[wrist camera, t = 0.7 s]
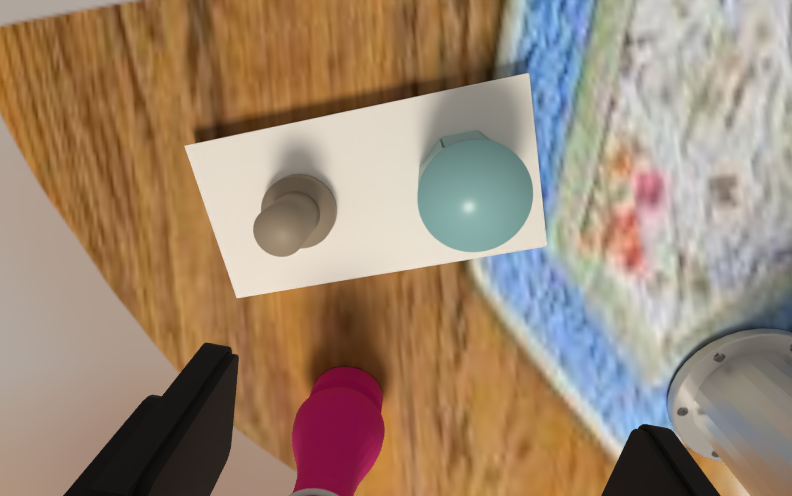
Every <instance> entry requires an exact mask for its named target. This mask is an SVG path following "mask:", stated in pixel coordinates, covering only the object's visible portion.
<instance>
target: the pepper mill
mask: <svg viewBox="0 0 792 496" xmlns="http://www.w3.org/2000/svg"><path fill="white" fill-rule="evenodd" d="M382 401H383V396H382V391H381V389H380V387H379V385H378V383H377V382H376V381H375V379H374V378H372V377H371V376H370V375H369V374H368V373H366V372H364V371H362V370H360V369H357V368H352V367H337V368H333V369H330V370H328V371H326V372H325V373H323V374H322V375H321V376H320V377H319V378H318V379H317V380H316V382H315V384H314V386H313V389H312V392H311V394H310V397H309V398H308V399H307V400H306V401H305V402H304V403H303V404H302V405H301V407H300V408H299V410H298V412H297V414H296V418H295V422H294V425H293V432H292V447H293V452H294V457H295V461H296V465H297V472H298V473H297V480H296V484H295V488H294V491H293V493H292V494H291V495H289V496H353V495H354V493H355V490H356V488H357V486H358V485H359V483H360V482H361V481H362V479H363V478H364V477H365V476H366V474H367V473H368V472H369V471H370V469H371V468H372V466H373V465H374V463H375V461H376V459H377V458H378V456H379V453H380V451H381V447H382V443H383V439H384V431H385V427H384V421H383V418H382V415H381V410H382Z"/></svg>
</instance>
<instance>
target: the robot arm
mask: <svg viewBox="0 0 792 496" xmlns="http://www.w3.org/2000/svg"><path fill="white" fill-rule="evenodd" d="M238 362H239V357H238V355H235V354H232V350H231V347H228V346H223V345H217V344H212V343H204V344H203V345H202V346H201V348H200V349H199V350H198V351H197V353H196V354H195V355H194V356H193V358H192V359H191V360H190V362H189V363H188V364H187V365H186V367H185V368H184V369H183V370H182V372H181V373H180V374H179V375H178V377H177V378H176V379H175V380H174V382H173V383H172V384H171V385H170V387H169V388H168V389H167V391H166V392H165V393H164V394H163V396H157V395H150V396H148V397H147V398H146V399H145V400H143V401H142V403H141V404H140V405H139V406H138V408H137V409H136V410H135V411H134V412H133V413H132V415H131V416H130V417H129V418H128V419H127V420H126V422H125V423H124V424H123V425H122V426H121V428H120V429H119V430H118V431H117V432H116V434H115V435H114V436H113V437H112V438H111V440H110V441H109V442H108V443H107V444H106V445H105V447H104V448H103V449H102V450H101V451H100V453H99V454H98V455H97V456H96V457H95V459H94V460H93V461H92V462H91V463H90V464H89V466H88V467H87V468H86V469H85V470H84V472H83V473H82V474H81V475H80V476H79V478H78V479H77V480H76V481H75V482H74V484H73V485H72V486H71V487H70V488H69V490H68V491H67V492H66V493H65V494H64V495H63V496H210V494H211V492H212V490H213V488H214V486H215V484H216V482H217V480H218V478H219V475H220V473H221V472H222V470H223V468H224V466H225V464H226V461H227V459H228V456H229V452H230V449H231V441H232V430H233V418H234V407H235V396H236V384H237V373H238ZM667 410H668V415H669V419H670V422H671V424H672V426H673V428H674V430H675V431H676V433H677V434H678V435H679V437H680V438H681V439H682V441H683V442H684V443H685V444H686V445H687V446H688V447H689V448H690V449H692V450H693V451H695V452H697V453H698V454H700V455H702V456H704V457H706V458H709V459H711V460H715V461H720V462H724V463H725V464H726V465H727V467H728V468H729V469H730V470H731V472H732V473H733V474H734V475H735V477H736V478H737V479H738V480H739V482H740V483H741V484H742V485H743V487H744V488H745V489H746V491H747V492H748V493H749V494H750V496H792V332H789V331H783V330H778V329H752V330H744V331H740V332H736V333H733V334H730V335H726V336H724V337H722V338H720V339H718V340H715V341H713V342H711V343H710V344H708V345H706V346H705V347H703V348H702V349H700V350H699V351H697V352H696V353H695V354H694V355H693V356H692V357H691V358H690V359H689V360H687V361H686V363H685V364H684V365H683V366H682V368H681V369H680V370H679V371H678V373H677V375H676V377H675V378H674V380H673V382H672V384H671V387H670V391H669V394H668V404H667ZM601 496H720V494H719V493H718V492H717V490H716V489H715V488H714V486H713V485H712V484H711V482H710V481H709V479H708V478H707V477H706V475H705V474H704V473H703V471H702V470H701V469H700V467H699V466H698V465H697V463H696V462H695V460H694V459H693V458H692V456H691V455H690V454H689V452H688V451H687V450H686V448H685V447H684V446H683V444H682V443H681V441H680V440H679V439H678V437H677V436H676V435H675V433H674V432H673V431H672V430H670V429H668V428H664V427H658V426H653V425H648V424H642V425H641V426H639V428H638V429H634V430H633V431H632V432H631V433H630V436H629V438H628V440H627V442H626V444H625V446H624V448H623V450H622V453H621V455H620V457H619V459H618V461H617V463H616V465H615V468H614V470H613V472H612V474H611V476H610V478H609V480H608V483H607V485H606V487H605V489H604V491H603V493H602V495H601Z"/></svg>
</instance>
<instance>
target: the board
mask: <svg viewBox="0 0 792 496" xmlns="http://www.w3.org/2000/svg"><path fill="white" fill-rule="evenodd" d="M475 130H477V131H480V132H481V133H483V134H484V135H486V136H487V137H489V138H490V139H491V140H493V141H496V142H498V143H501V144H502V145H504V146H506V147H507V148H509V149H510V150H511V151H513V152H514V153H515V154H516V155H517V156H518V157H519V158H520V159H521V160H522V161H523V163H524V164H525V166H526V168H527V170H528V172H529V174H530V177H531V180H532V185H533V203H532V207H531V211H530V213H529V216H528V218H527V220H526V222H525V224H524V225H523V226H522V228H521V229H520V230H519V232H518V233H517V234H516V235H515V236H514V237H512V238H511V239H510V240H509V241H507V242H506V243H504V244H502V245H500V246H498V247H496V248H494V249H491V250H487V251H482V252H464V251H459V250H455V249H452V248H450V247H447V246H446V245H444V244H442V243H441V242H439V241H438V240H437V239H435V238H434V237H433V236H432V235H431V234H430V232H429V231H428V230H427V228H426V227H425V225H424V223H423V221H422V219H421V217H420V213H419V209H418V202H417V194H418V177H419V168H420V166H421V165H422V163H423V162H424V160H425V159H426V157H427V156H428V155H429V153H430V152H431V150H432V149H433V147H434V146H435V144H436V143H437V141H438V140H439V139H441V140H442V138H441V137H445V136H450V135H455V134H460V133H465V132H470V131H475ZM185 149H186V152H187V155H188V158H189V161H190V163H191V166H192V169H193V172H194V175H195V178H196V181H197V184H198V187H199V190H200V192H201V195H202V198H203V201H204V204H205V207H206V210H207V213H208V216H209V219H210V222H211V224H212V227H213V230H214V233H215V236H216V239H217V242H218V245H219V248H220V251H221V254H222V256H223V259H224V262H225V265H226V268H227V271H228V274H229V277H230V280H231V283H232V285H233V288H234V291H235V294H236V297H237V298H241V297H247V296H253V295H259V294H265V293H271V292H277V291H283V290H289V289H295V288H301V287H307V286H313V285H319V284H325V283H331V282H337V281H342V280H348V279H354V278H360V277H366V276H372V275H378V274H384V273H390V272H396V271H402V270H408V269H414V268H420V267H426V266H432V265H438V264H444V263H450V262H456V261H462V260H468V259H474V258H480V257H486V256H492V255H498V254H504V253H510V252H516V251H522V250H528V249H534V248H540V247H546V246H547V241H546V231H545V222H544V212H543V202H542V193H541V183H540V173H539V164H538V154H537V144H536V135H535V125H534V115H533V106H532V96H531V86H530V77H529V73H525V74H520V75H515V76H510V77H506V78H501V79H496V80H491V81H487V82H482V83H477V84H473V85H468V86H463V87H458V88H454V89H449V90H444V91H440V92H435V93H430V94H425V95H421V96H416V97H411V98H407V99H402V100H397V101H392V102H388V103H383V104H378V105H374V106H369V107H364V108H360V109H355V110H350V111H345V112H341V113H336V114H331V115H327V116H322V117H317V118H312V119H308V120H303V121H298V122H294V123H289V124H284V125H279V126H275V127H270V128H265V129H261V130H256V131H251V132H246V133H242V134H237V135H232V136H228V137H223V138H218V139H213V140H209V141H204V142H199V143H195V144H191V145H187V146H185Z"/></svg>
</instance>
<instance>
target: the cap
mask: <svg viewBox="0 0 792 496" xmlns="http://www.w3.org/2000/svg"><path fill="white" fill-rule="evenodd" d="M441 138H442V140H441V139H439V140H438V141H437V143H436V144H435V146H434V147H433V149H432V150H431V152H430V153H429V155H428V156H427V157H426V159H425V160H424V162H423V163H422V165H421V166H420V168H419V177H418V194H417V202H418V209H419V213H420V217H421V219H422V221H423V223H424V225H425V227H426V228H427V230H428V231H429V232H430V234H431V235H432V236H433V237H434V238H435V239H437V240H438V241H439V242H441V243H442V244H444V245H446V246H447V247H450V248H452V249H455V250H459V251H464V252H482V251H487V250H491V249H494V248H496V247H498V246H500V245H502V244H504V243H506V242H507V241H509V240H510V239H511V238H512V237H514V236H515V235H516V234H517V233H518V232H519V230H520V229H521V228H522V226H523V225H524V224H525V222H526V220H527V218H528V216H529V213H530V211H531V207H532V203H533V185H532V180H531V177H530V174H529V172H528V170H527V168H526V166H525V164H524V163H523V161H522V160H521V159H520V158H519V157H518V156H517V155H516V154H515V153H514V152H513V151H511V150H510V149H509V148H507V147H506V146H504V145H502V144H501V143H498V142H496V141H493V140H491V139H490V138H489V137H487V136H486V135H484V134H483V133H481V132H480V131H477V130H475V131H470V132H465V133H460V134H455V135H450V136H445V137H441Z"/></svg>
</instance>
